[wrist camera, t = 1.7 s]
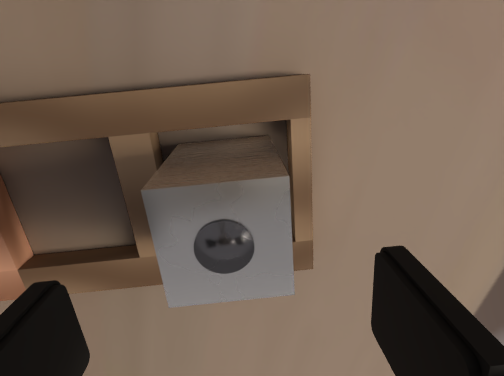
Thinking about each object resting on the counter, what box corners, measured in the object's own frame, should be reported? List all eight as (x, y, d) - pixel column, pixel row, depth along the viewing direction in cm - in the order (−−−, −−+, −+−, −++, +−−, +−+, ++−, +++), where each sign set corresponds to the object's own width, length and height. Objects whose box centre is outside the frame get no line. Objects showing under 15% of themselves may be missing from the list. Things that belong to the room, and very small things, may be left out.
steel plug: (178, 143, 17) (139, 191, 10) (268, 135, 17) (289, 176, 10) (193, 224, 18) (168, 309, 12) (274, 215, 18) (295, 296, 12)
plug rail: (-228, 124, 15) (-275, 129, 14) (303, 74, 15) (310, 74, 14) (-113, 297, 19) (-141, 315, 18) (307, 254, 19) (313, 268, 18)
